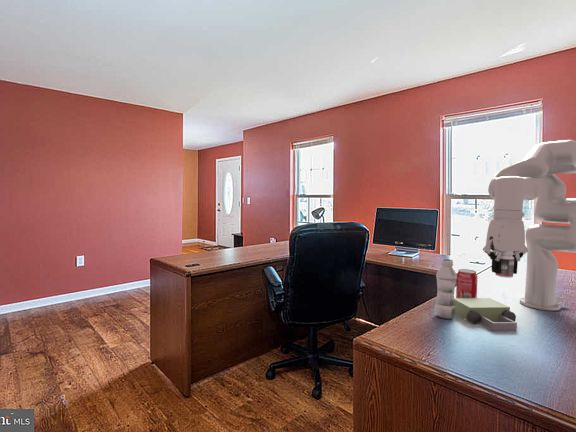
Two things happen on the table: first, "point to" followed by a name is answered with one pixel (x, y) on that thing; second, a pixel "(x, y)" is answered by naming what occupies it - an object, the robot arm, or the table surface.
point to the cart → (486, 313)
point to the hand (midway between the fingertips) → (504, 272)
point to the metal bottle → (445, 290)
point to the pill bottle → (506, 264)
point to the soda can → (466, 284)
